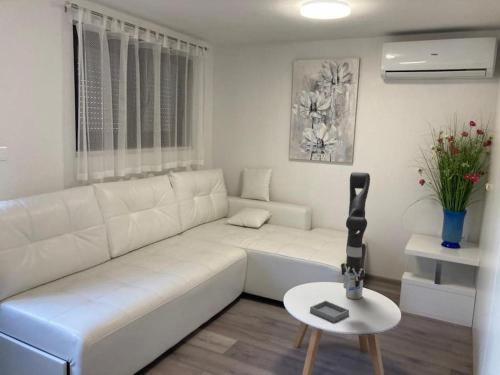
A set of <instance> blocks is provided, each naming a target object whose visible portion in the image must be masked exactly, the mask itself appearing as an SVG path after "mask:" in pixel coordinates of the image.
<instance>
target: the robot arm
mask: <svg viewBox="0 0 500 375" xmlns="http://www.w3.org/2000/svg"><path fill="white" fill-rule="evenodd" d="M370 184H371V176H370V173H369V172H357V171H355V172H354V171H353V172H351V173H350V176H349V204H348V205H349V206H348V217H347V219H346V222H345V226H346V228H347V229H348V230H347V231H348V232H347V240H346V241H347V242H346V249H345V250H346V251H345V253H346V259H345V260H346V263H345V262H343V263H341V264H340V269H341V276H344V273H345V272H350V273H353V274H354V276H355V277H356V285H355V287H359V285H360V289H355V290H350V291H349V290H347V289H345V296H346V297H347V298H348V299H350V300H360V299H361V298H362V296H363V288H364V279H365V276H366V273H367V270H366V268H364V267H365V261H366V252H367V245H366V243H363V239H364V235H365V232H366V229H367V227H368V220H367V218H366V201H367V198H368V195H369V190H370ZM356 189H359V190H361V191H360V192H359V193H358V194H357V191H356ZM359 272H360V273H361V275H360V273H359ZM356 273H358V274H356ZM360 281H361V284H360Z"/></svg>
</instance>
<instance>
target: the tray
mask: <svg viewBox="0 0 500 375" xmlns="http://www.w3.org/2000/svg"><path fill="white" fill-rule="evenodd" d="M309 313H311V314H313V315H316V316H317V317H319V318H322V319H324V320H327V321H329V322H331V323H333V324H334V323H336V322H339V321H340V320H342V319H345V318H346V317H348V316H349V315H350V309H347V308H345V307H342V306H340V305H338V304H335V303H333V302H330V301H328V300H324V301H321V302H319V303H316V304H314V305H312V306H310V308H309Z"/></svg>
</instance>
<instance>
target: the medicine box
mask: <svg viewBox="0 0 500 375" xmlns="http://www.w3.org/2000/svg"><path fill="white" fill-rule="evenodd" d="M359 273H360V272H359ZM356 274H358V273H356ZM360 275H361V273H360ZM360 284H361V281H360ZM355 285H356V277H355V276H354V274H353V273H350V272H345V273H344V275H343V288H344V289H345V290H346V289H347V290H349V291H350V290H355V289H360V285H359V287H355Z"/></svg>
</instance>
